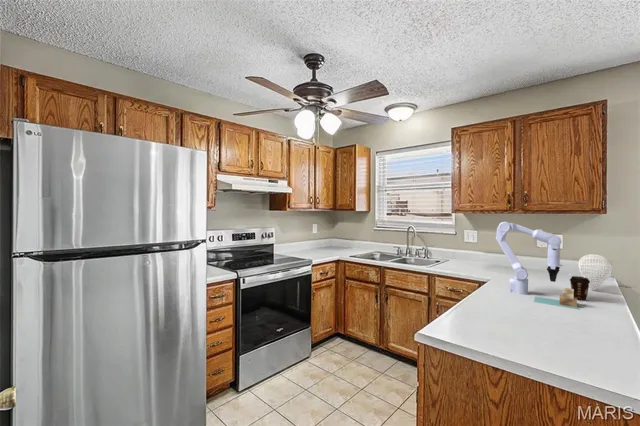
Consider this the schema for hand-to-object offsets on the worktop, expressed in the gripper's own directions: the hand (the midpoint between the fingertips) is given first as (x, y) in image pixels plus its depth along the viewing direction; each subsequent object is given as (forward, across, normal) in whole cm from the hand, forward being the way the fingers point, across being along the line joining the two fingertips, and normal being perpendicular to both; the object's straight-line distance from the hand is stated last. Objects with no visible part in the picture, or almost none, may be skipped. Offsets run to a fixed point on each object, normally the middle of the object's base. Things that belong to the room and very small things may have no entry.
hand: (553, 280), depth 176 cm
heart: (+11, +43, -20) cm, 49 cm away
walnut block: (+10, -12, -7) cm, 17 cm away
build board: (+10, -12, -2) cm, 16 cm away
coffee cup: (+11, +6, -12) cm, 17 cm away
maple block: (+6, -12, -7) cm, 15 cm away
